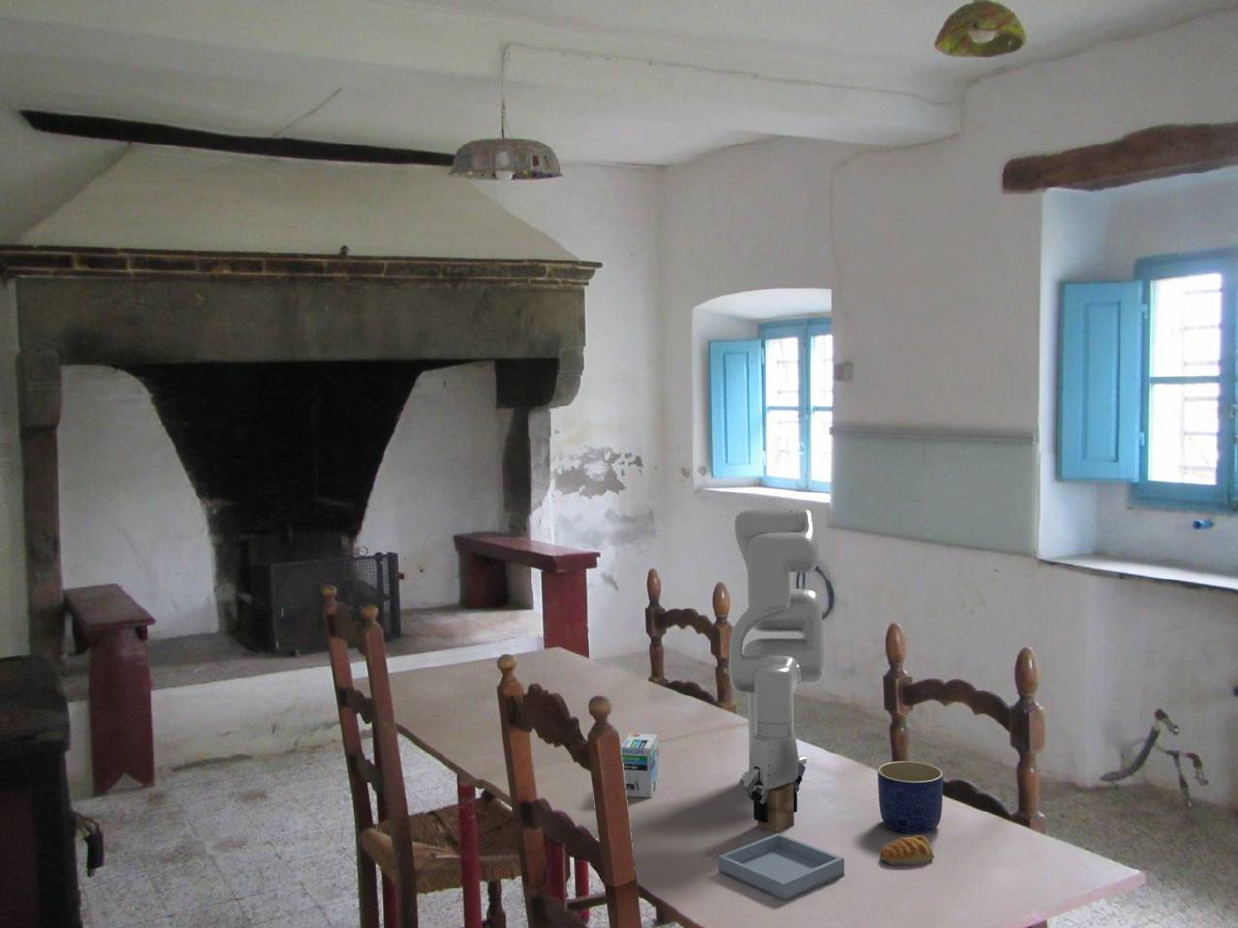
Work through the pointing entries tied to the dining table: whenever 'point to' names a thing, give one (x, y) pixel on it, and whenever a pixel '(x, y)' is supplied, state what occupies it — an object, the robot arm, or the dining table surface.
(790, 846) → the tray
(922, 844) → the pastry
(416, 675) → the dining table surface
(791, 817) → the walnut block
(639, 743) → the light bulb box
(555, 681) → the dining table surface
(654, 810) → the dining table surface
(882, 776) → the planter
